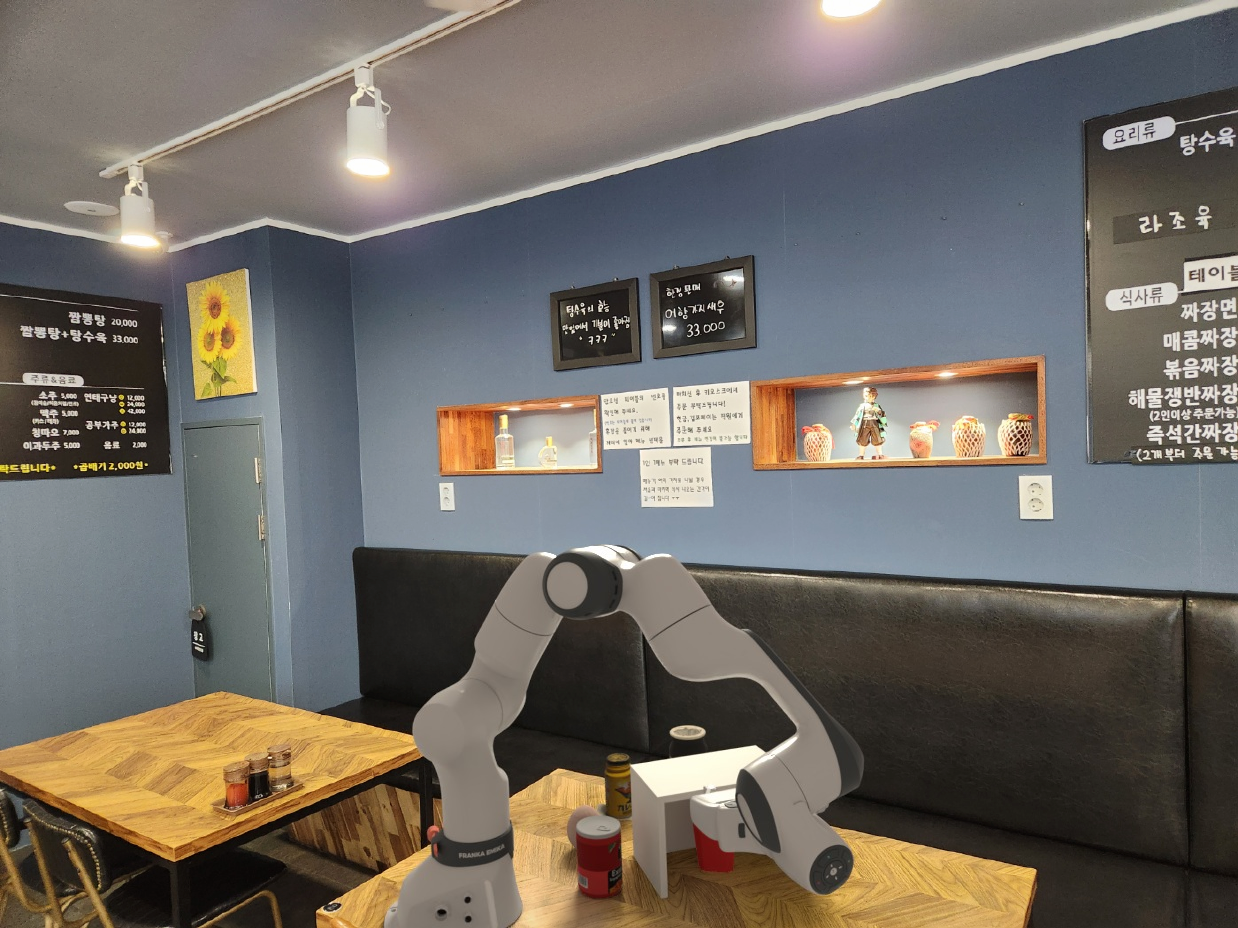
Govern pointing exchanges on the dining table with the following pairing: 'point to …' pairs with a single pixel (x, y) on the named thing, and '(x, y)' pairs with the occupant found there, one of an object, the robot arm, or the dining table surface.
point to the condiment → (617, 788)
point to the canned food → (599, 856)
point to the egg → (575, 817)
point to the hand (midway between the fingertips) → (733, 784)
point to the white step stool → (676, 803)
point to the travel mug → (687, 741)
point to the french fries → (712, 854)
